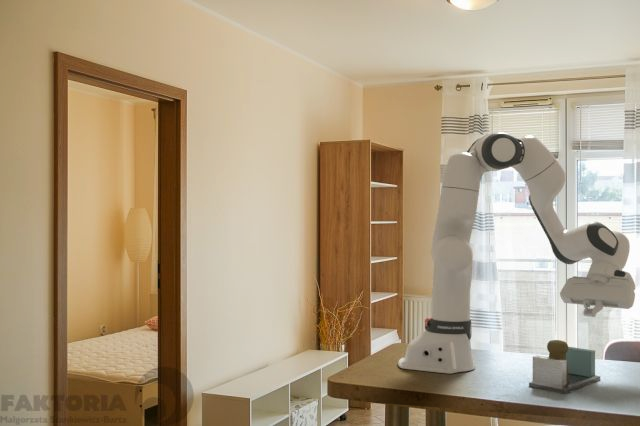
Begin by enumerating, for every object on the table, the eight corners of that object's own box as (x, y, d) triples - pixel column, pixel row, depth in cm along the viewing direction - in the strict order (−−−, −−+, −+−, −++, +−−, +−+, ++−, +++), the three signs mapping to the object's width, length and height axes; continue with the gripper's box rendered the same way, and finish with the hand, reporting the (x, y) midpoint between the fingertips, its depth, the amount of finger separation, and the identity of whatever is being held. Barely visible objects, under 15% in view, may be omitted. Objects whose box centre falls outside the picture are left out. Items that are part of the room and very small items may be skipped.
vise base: (565, 394, 166) (565, 362, 166) (529, 386, 173) (529, 356, 173) (600, 379, 181) (600, 350, 181) (565, 373, 188) (565, 345, 188)
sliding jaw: (591, 377, 179) (591, 351, 179) (562, 372, 185) (562, 347, 185) (595, 375, 181) (595, 350, 181) (566, 370, 186) (566, 346, 186)
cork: (545, 383, 172) (545, 341, 172) (545, 378, 178) (545, 337, 178) (569, 386, 170) (570, 343, 170) (569, 380, 176) (569, 339, 176)
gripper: (565, 269, 200) (550, 304, 193) (635, 273, 185) (622, 311, 178) (572, 283, 203) (557, 318, 196) (641, 288, 188) (628, 326, 181)
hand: (588, 315), depth 187 cm, fingers closed
